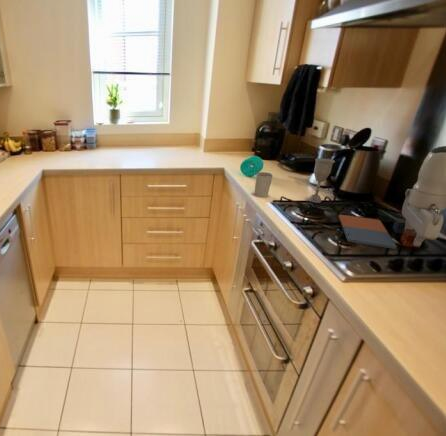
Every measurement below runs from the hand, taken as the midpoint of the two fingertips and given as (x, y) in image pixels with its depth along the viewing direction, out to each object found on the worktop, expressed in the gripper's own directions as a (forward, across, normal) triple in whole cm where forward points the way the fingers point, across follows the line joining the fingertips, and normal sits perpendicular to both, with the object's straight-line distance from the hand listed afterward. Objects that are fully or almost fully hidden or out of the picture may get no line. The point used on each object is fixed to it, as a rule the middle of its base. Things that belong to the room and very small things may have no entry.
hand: (411, 239), depth 102 cm
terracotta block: (+2, 0, 0) cm, 2 cm away
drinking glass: (+2, +30, +47) cm, 56 cm away
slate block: (+2, +10, 0) cm, 10 cm away
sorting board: (+2, +5, +11) cm, 13 cm away
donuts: (+2, +62, +54) cm, 83 cm away
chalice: (+2, +32, +25) cm, 41 cm away
